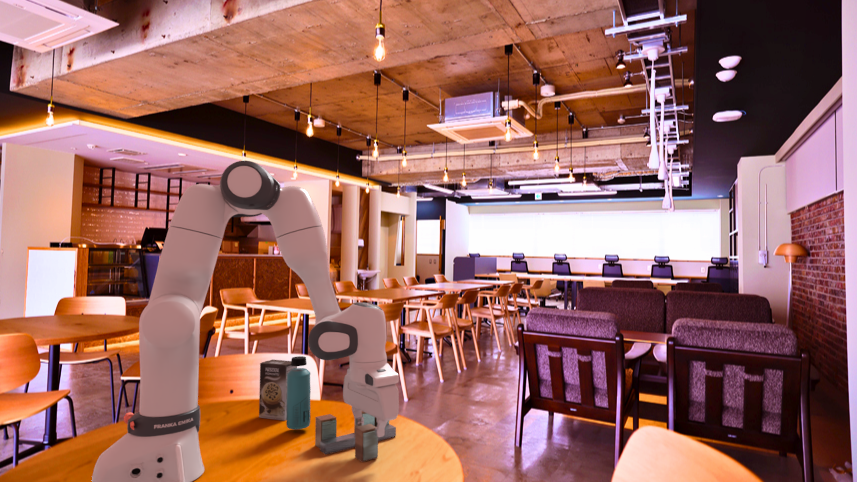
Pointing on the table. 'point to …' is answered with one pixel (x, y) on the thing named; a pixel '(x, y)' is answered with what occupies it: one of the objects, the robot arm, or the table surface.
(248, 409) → the table surface
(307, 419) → the beverage bottle
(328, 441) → the grey block holder
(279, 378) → the coffee box
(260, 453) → the table surface
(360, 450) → the brown-topped upright block
